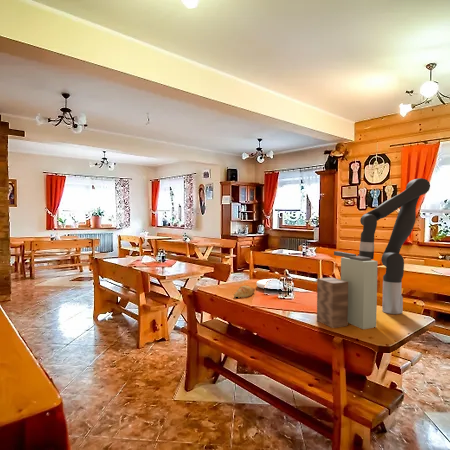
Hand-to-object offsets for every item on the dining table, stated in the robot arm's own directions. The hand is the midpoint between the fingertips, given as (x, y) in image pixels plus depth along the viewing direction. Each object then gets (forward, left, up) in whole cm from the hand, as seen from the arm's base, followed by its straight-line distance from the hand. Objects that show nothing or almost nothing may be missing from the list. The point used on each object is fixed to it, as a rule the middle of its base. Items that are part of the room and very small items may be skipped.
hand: (364, 279), depth 185 cm
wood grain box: (+23, +22, -18) cm, 37 cm away
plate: (+46, -51, -18) cm, 71 cm away
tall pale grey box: (+10, +21, -18) cm, 29 cm away
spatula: (+13, +15, +14) cm, 25 cm away
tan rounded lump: (+68, -29, -18) cm, 76 cm away
